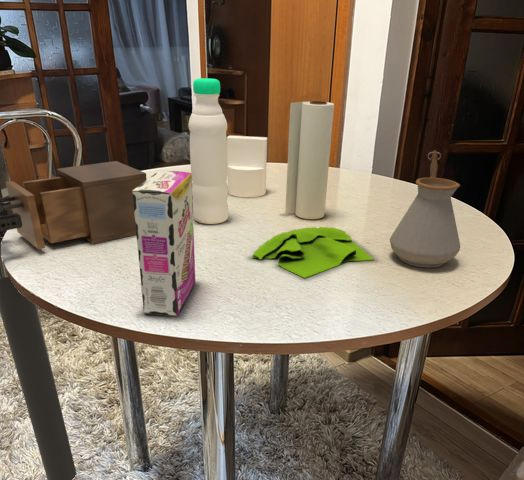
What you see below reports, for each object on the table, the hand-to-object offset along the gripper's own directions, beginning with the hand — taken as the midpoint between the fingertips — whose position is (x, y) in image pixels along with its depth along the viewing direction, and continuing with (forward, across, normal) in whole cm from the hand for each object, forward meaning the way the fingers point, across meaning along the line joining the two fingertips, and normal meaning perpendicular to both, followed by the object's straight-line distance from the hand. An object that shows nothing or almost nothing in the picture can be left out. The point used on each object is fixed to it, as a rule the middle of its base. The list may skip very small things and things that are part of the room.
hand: (13, 214), depth 84 cm
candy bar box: (+10, +32, -6) cm, 34 cm away
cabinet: (+16, 0, -6) cm, 17 cm away
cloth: (+39, +31, -6) cm, 50 cm away
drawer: (+4, 0, -5) cm, 6 cm away
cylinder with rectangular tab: (+53, -5, -6) cm, 54 cm away
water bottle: (+35, +6, -6) cm, 36 cm away
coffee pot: (+56, +42, -6) cm, 70 cm away
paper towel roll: (+53, +16, -6) cm, 55 cm away
